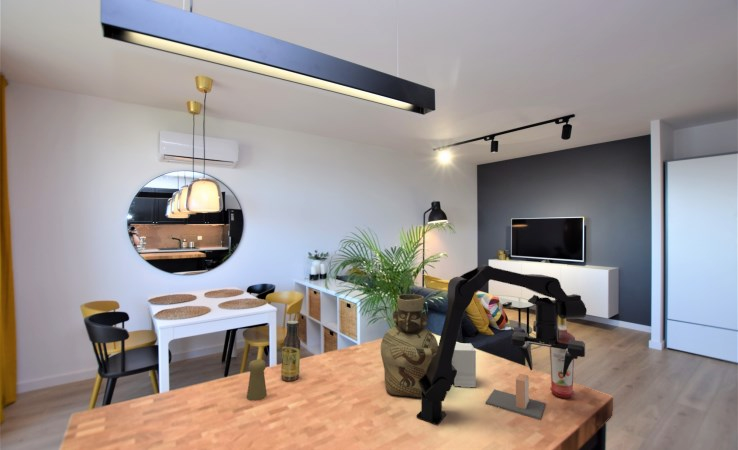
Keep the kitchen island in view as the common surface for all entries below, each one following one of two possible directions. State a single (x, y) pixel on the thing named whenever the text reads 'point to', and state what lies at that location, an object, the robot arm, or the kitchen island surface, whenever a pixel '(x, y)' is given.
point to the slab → (522, 391)
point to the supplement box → (464, 365)
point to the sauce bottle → (291, 353)
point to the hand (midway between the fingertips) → (547, 373)
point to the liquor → (561, 365)
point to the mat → (509, 403)
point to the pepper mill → (256, 380)
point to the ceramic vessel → (407, 348)
